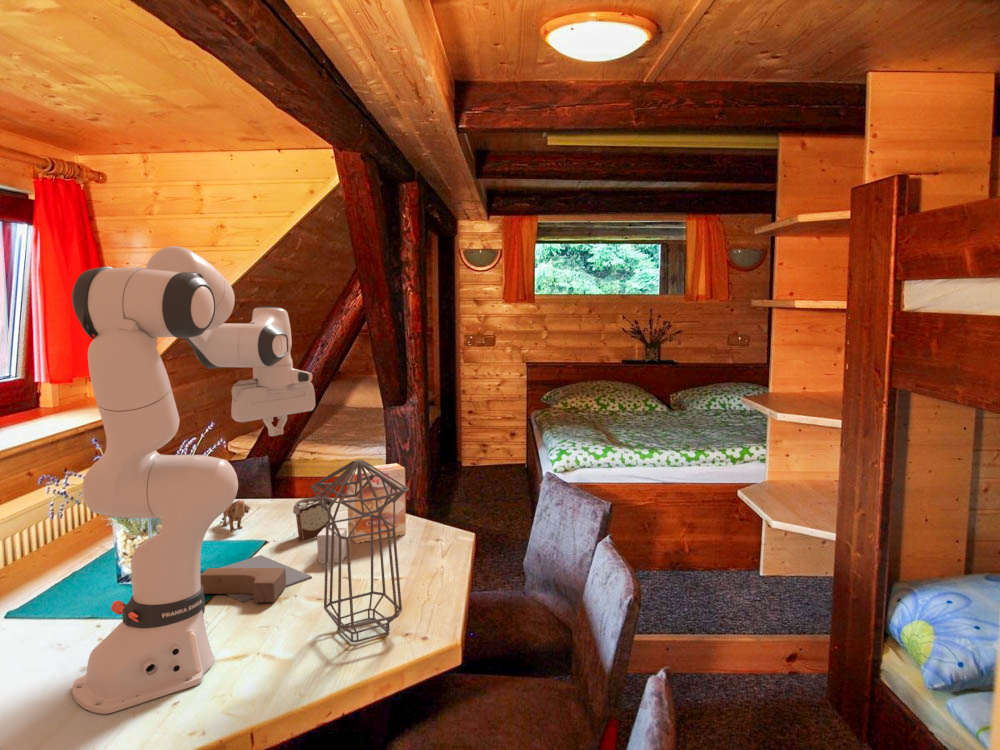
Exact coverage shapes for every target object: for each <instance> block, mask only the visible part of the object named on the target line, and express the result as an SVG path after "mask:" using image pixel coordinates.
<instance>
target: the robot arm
mask: <svg viewBox="0 0 1000 750" xmlns="http://www.w3.org/2000/svg"><path fill="white" fill-rule="evenodd" d="M76 279H77V280H76V281H75V283H74V285H73V286H72V290H71V303H72V308H73V310H74V313H75V316H76V318H77V320H78V322H79V323H80V325H81V328H82V330H83V331H84V333H85V334H86V335H87V336H88V337H89V338H90V339H92V341H91V342H90V344H89V346H88V349H87V362H88V372H89V378H90V383H91V388H92V392H93V394H94V395H93V396H94V398H95V402H96V406H97V407H98V408H97V409H98V412H99V414H100V418H101V421H102V425H103V429H104V433H105V438H106V447H105V450H104V453H103V455H102V456H101V458H100V459H98V460H97V461H95V462H94V463H93V464H92V465H91V466H90V467H89V469H88V470H87V472H86V473H85V476H84V479H83V480H82V484H81V485H82V488H81V490H82V497H83V500H84V503H85V505H86V506H87V508H88V509H89V510H90V511H91V512H92V513H94V514H97V515H100V516H101V515H102V516H106V517H110V518H111V517H112V518H117V519H160V520H161V521H160V522H161V529H160V532H158V533H157V534H155V535H153V536H151V537H149V538H148V539H146V540H144V541H143V542H141V543H140V544H139V545H138V546H137V547H136V549H135V550H134V551H133V554H132V556H131V558H130V568H131V587H132V596H131V597H130V599H129V601H128V602H127V604H126V603H124V602H123V601H122V600H119V599H118V600H115V601H113V602H112V604H111V606H110V609H111V611H112V612H113V613H115V614H116V615H120V616H121V615H122V621H121V622H120V623H119V624H118V625H116V627H115V628H114V629H113V630H112V631H110V633H109V634H108V635H107V636H106V637H104V639H103V640H102V641H101V642H99V643H98V644H97V645H96V646H95V647H94V648H93V649H92V650H91V652H90V654H89V657H88V660H87V667H86V674H84V675H83V676H81V677H79V678H77V679H76V680H75V681H74V682H73V683H72V687H71V688H72V690H71V695H72V698H73V699H74V701H75V702H76V703H77V704H78V705H79V706H80V707H82V708H83V709H84V710H87V711H90V712H92V713H95V714H105V715H106V714H107V715H108V714H111V713H115V712H118V711H122V710H124V709H125V710H126V709H127V708H130V707H133V706H137V705H139V704H140V705H141V704H143V703H146V702H149V701H151V700H152V701H153V700H155V699H158V698H161V697H165V696H167V695H170V694H172V693H176V692H180V691H182V690H185V689H188V688H189V689H190V688H191V687H194V686H197V685H199V684H200V683H202V681H203V679H204V676H205V673H206V672H207V671H208V670H209V669H210V668H211V667H212V666H213V664H214V661H215V656H214V653H213V651H212V649H211V645H210V642H209V638H208V635H207V630H206V624H205V618H204V617H205V616H204V614H205V609H206V607H205V604H206V602H205V601H206V600H205V594H204V589H203V585H202V584H201V577H200V574H201V559H202V558H201V556H202V555H201V554H202V553H201V552H202V545H203V542H204V538H205V536H206V534H207V532H208V530H209V528H210V526H211V525H212V524H213V523H214V522H215V520H216V519H217V518H218V517H219V516H221V515H223V513H224V512H225V511H226V510H227V509H228V508H229V507H230V506H231V504H232V503H234V502H235V499H236V497H237V494H238V489H239V479H238V475H237V472H236V471H235V468H234V467H233V466H232V464H231V463H230V462H229V461H228V459H223V458H220V457H215V456H210V455H205V454H204V455H203V454H162V453H159V452H158V451H157V450H159V449H161V448H163V447H164V446H165V445H167V444H168V443H169V442H171V440H173V438H174V437H175V436H176V435H177V433H178V430H179V427H180V421H181V420H180V415H179V411H178V408H177V404H176V401H175V397H174V393H173V390H172V386H171V385H172V384H171V383H170V379H169V378H170V377H169V375H168V372H167V370H166V367H165V365H164V361H163V360H162V357H161V354H160V352H159V350H158V349H157V347H158V338H174V337H175V338H176V339H183V340H185V341H186V343H187V344H188V345H189V346H190V347H191V349H192V350H193V354H194V355H195V358H196V359H197V360H198V361H199V362H200V364H202V365H203V366H204V367H205V368H207V369H223V368H252V376H253V377H252V378H251V379H247V380H238V381H237V382H235V383H234V384H233V386H232V387H231V397H232V399H231V415H230V416H231V418H232V419H233V420H234V421H235V422H238V423H247V422H254V421H258V420H262V421H263V423H264V425H265V427H266V428H267V432H268V436H269V437H276V436H281V435H284V427H285V425H286V423H287V421H288V415H293V414H300V413H305V412H312V411H313V410H314V409H315V407H316V392H315V388H314V385H313V383H312V381H313V373H312V372H309V371H304V370H300V369H298V368H294V365H293V358H292V355H291V349H292V345H293V344H292V343H293V342H292V341H293V340H292V328H291V323H290V317H289V313H288V311H287V310H286V309H284V308H282V307H279V306H278V307H277V306H258V307H254V309H253V311H252V315H251V316H252V317H251V321H250V322H249V323H234V322H233V323H231V322H230V323H225V322H226V321H227V320H228V319H229V318H230V317H231V314H232V313H233V310H234V308H235V300H236V299H235V298H236V297H235V292H234V289H233V287H232V285H231V284H230V282H229V281H228V279H227V278H226V277H225V276H224V275H222V273H220V271H219V270H218V269H217V268H215V267H214V266H213V265H212V264H211V263H210V262H209V261H207V260H206V259H204V257H202V256H200V255H199V254H197V253H195V252H194V251H192V250H191V249H189V248H187V247H183V246H179V245H170V246H166V247H163V248H161V249H159V250H158V251H156V252H155V253H154V254H153V255H152V256H151V257H150V258H149V260H148V261H147V264H146V267H131V266H130V267H125V266H124V267H113V266H100V267H95V268H90V269H86V270H85V271H83V272H82V273H81V274H80V275H79V276H78V277H77V278H76ZM274 418H276V419H278V421H277V425H276V426H274V424H273V422H274Z"/></svg>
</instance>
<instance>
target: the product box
mask: <svg viewBox="0 0 1000 750" xmlns="http://www.w3.org/2000/svg"><path fill="white" fill-rule="evenodd" d="M330 528H331V529H332V527H330ZM337 528H338V530H339V532H340V534H341V536H344V537H348V535H347V533H348V530H347V527H337ZM334 531H335V532H336V530H335V527H334ZM336 533H337V532H336ZM331 538H332V531H331V530H330V529H329V538H328V564H331ZM316 540H317V541H316V542H317V544H316V545H317V561H318V562H325V548H326V528H323V529H322V531H321V532H320V533H319V534H318V535H317V538H316ZM341 540H342V556H341V563H342V562H343V561H344V559H345V558H347V545H346V540H345V539H341ZM329 562H330V563H329ZM335 563H336V564H337V563H338V564H339V537H338V536H336V535H335V534H334V559H333V564H335Z"/></svg>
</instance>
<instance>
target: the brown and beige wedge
mask: <svg viewBox="0 0 1000 750" xmlns="http://www.w3.org/2000/svg"><path fill="white" fill-rule="evenodd" d="M323 497H324V496H322V502H323ZM328 498H330V496H329V497H328ZM325 502H326V507H329V506H330V504H331V502H330V501H328V500H325ZM323 504H324V502H323ZM292 512H293V514H294V515H295V518H296V526H297V534H298V540H299V541H300V542H302V543H304V541H305V542H308V541H310V539H311V540H313V538H314V539H316V538H315V537H317V535H318V534H319V533H320V532H321V531H322V529H323V528H326V526H325V524H329V520H328V514H327V511H325V510H324V509H322V508H321V504H320V502H319V500H318V499H317V497H316V496H314V497H308V498H303V499H300V500H298V501H296V502H295V503H294V505H293V511H292ZM330 512H331V513H332V508H331V509H330ZM330 521H331V519H330ZM329 527H330V528H331V525H330V526H329ZM307 540H308V541H307Z"/></svg>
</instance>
